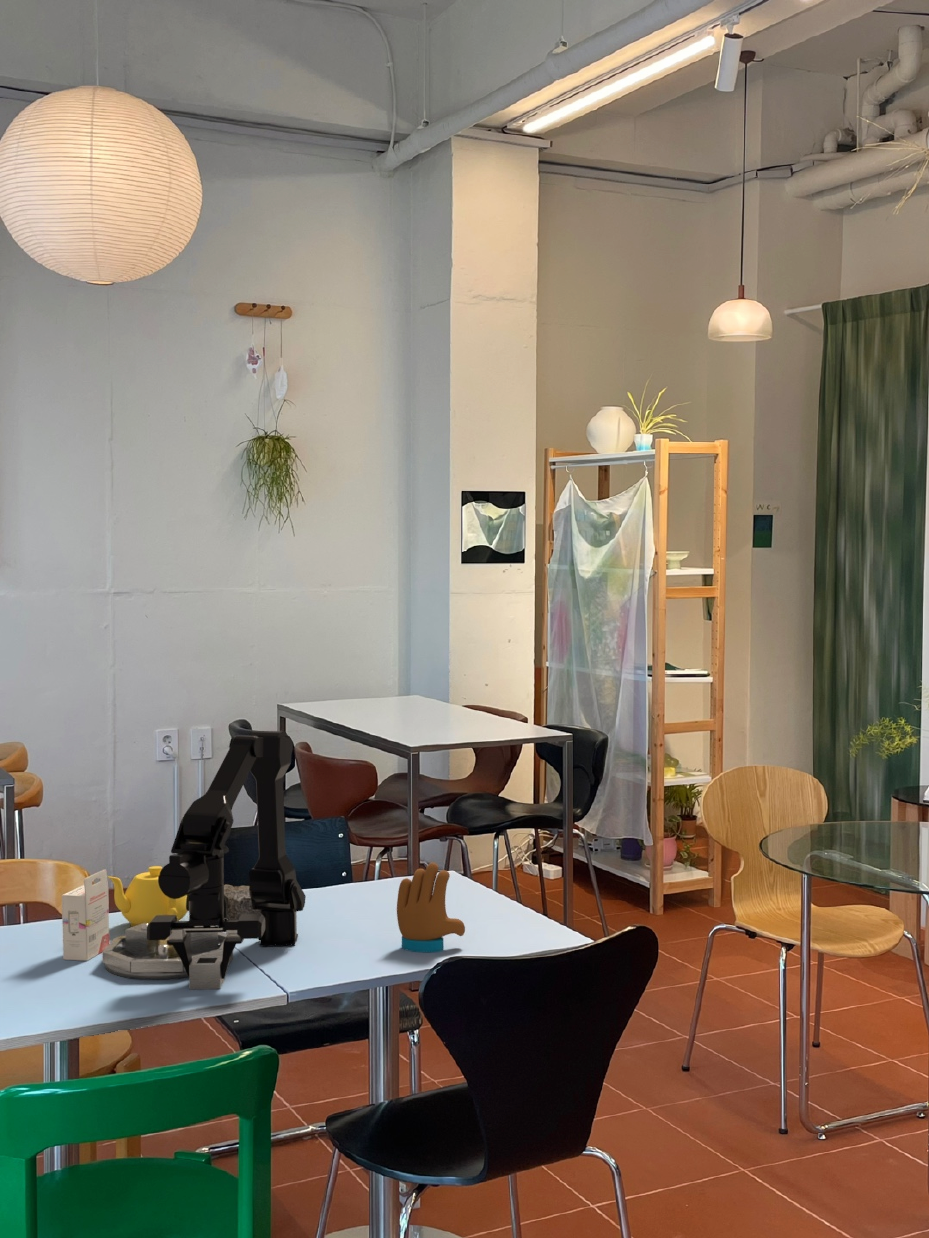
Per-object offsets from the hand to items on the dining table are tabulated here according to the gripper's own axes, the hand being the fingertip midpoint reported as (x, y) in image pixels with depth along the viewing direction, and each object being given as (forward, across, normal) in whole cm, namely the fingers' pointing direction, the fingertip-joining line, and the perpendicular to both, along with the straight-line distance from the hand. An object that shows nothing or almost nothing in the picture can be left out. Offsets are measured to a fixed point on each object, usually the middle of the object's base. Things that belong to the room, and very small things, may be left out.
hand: (207, 978), depth 208 cm
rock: (+2, 0, -44) cm, 44 cm away
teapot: (+1, +16, -38) cm, 41 cm away
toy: (+1, -37, -20) cm, 42 cm away
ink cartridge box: (+1, +25, -19) cm, 31 cm away
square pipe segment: (+1, 0, 0) cm, 1 cm away
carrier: (+1, +9, -14) cm, 17 cm away
